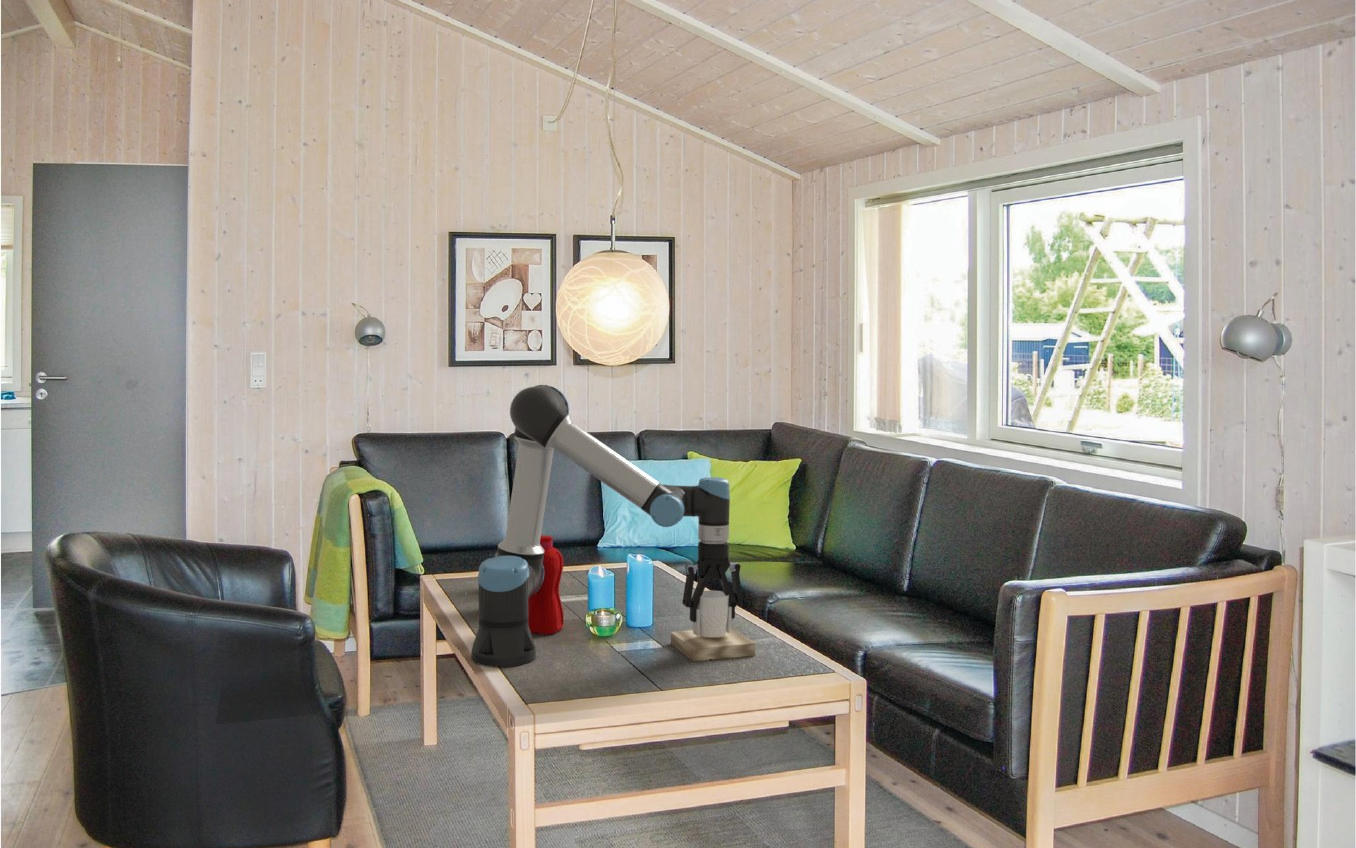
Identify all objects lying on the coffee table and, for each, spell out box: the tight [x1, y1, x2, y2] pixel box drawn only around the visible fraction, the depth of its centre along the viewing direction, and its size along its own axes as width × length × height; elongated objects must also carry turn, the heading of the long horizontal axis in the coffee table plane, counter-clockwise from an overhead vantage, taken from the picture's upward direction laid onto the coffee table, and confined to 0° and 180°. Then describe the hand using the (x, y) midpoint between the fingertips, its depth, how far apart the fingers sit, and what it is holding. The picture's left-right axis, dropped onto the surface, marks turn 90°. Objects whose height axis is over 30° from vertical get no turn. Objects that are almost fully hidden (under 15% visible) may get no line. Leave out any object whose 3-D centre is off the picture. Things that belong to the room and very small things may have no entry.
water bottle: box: [528, 534, 565, 636], centre depth 289 cm, size 9×11×25 cm
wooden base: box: [670, 627, 756, 662], centre depth 273 cm, size 16×16×3 cm
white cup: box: [697, 590, 729, 638], centre depth 272 cm, size 8×8×10 cm
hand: (712, 633), depth 273 cm, fingers closed on white cup, 8 cm apart
